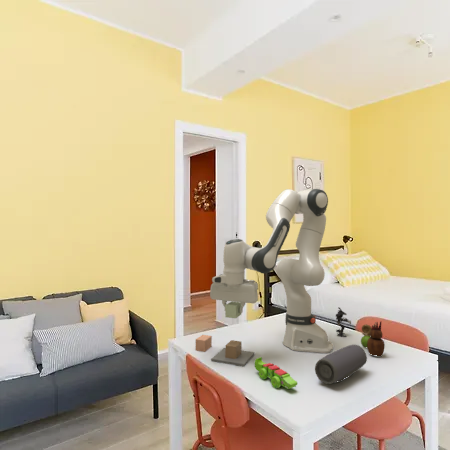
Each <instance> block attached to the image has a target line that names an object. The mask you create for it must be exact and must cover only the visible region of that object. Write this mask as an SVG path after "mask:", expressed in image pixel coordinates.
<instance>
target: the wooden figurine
mask: <svg viewBox="0 0 450 450" xmlns="http://www.w3.org/2000/svg"><path fill="white" fill-rule="evenodd" d="M373 325H374V327H373ZM373 325H372V326H371V328H372V329H371V330H370V338H369V339H368V341H367V351H368V353H370V354H372V355H377V356H381V355H382V356H383V355H384V352H385V347H386V345H385V341H384V340H383V339H382V338H383V331H382V321H380V322H379V324H378V321H376V324H375V323H374V324H373ZM375 325H376V327H375ZM370 354H369V355H370ZM372 355H371V356H372ZM382 356H381V357H382Z"/></svg>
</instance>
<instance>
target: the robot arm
mask: <svg viewBox="0 0 450 450" xmlns="http://www.w3.org/2000/svg"><path fill="white" fill-rule="evenodd" d="M328 205H329V197H328V195H327V192H325V190H323V189H320V188H319V189H318V188H313V189H303V190H300V191H299V190H298V191H296V190H293V189H291V188H289V189H288V188H287V189H284V190H282V191H281V193H279V195H277V196H276V198H275V199H274V200H273V202H272V203H271V205H270V206H269V208H268V209H267V212H266V215H265V220H266V223H267V224H268V225H269V226H270V228H272V232H271V234H270V237H269V238H268V240H267V243H266V244H265V245H264V246H263V247H255V246H252V245H250V244H248V243H247V242H245V241H244V240H243V239H241V238H236V239H235V238H234V239H230V240H228V241H226V242H225V244H224V248H223V265H224V266H223V271H222V272H223V273H222V274H221V273H220V274H218V275H216V276H213V277H211V278H212V279H211V281H212V284H211V285H210V291H209V297H210V299H211V300H214V301H216V300H217V301H221V303H222V305H223V308H225V305H226V304H227V302H241V305H242V306H241V308H238V313H241V314H243V312H244V310H243V309H244V307H245V305H246V304H256V303H257V302H258V300H259V295H258V294H259V292H258V290H259V285H258V284H259V283H257V281H256V280H254V279H245V276H246V275H245V270H247V269H248V270H251V271H254V272H258V273H260V274H265V275H266V274H268V273H271V272H272V271H273V270H274V268H275V267H276V269H275V271H276V275H277V276H278V278H279V279H280V281H281V283H282V285H283V288H284V291H285V295H286V296H285V297H286V313H285V319H284V321H285V333H284V337H283V341H282V344H283V345H284V346H285V347H287V348H289V349H291V351H295V352H305V353H307V352H308V353H318V354H319V353H322V354H330V353H332V352H333V349H334V343H332V342H331V341H329V337H328V333H327V332H326V330H325V329H324V328H322V327H321V326H320V325H318V324H317V321H316V320H317V319H316V317H317V316H316V315H313V314H312V297H311V295H310V293H309V292H308V291H307V289H306V287H314V286H315V287H316V286H319V285H321V284H322V283H323V281H324V280H325V274H326V273H325V269H324V267H323V266H322V264H321V262H320V256H319V255H320V249H321V245H322V241H323V238H324V234H325V231H326V224H327V223H326V222H327V216H326V215H325V213H326V210H327V208H328ZM301 214H302V216H303V217H302V223H301V225H300V227H299V228H300V229H299V232H298V234H297V238H296V241H295V248H296V249H297V250H298V251H299V256H298V259H296V258H286V259H281V260H280V261H278V257H279V254H280V251H281V250H282V248H283V245H284V242H285V241H286V239H287V236H288V235H289V232H290V228H291V221H292V219H293V218H294V216H295V215H301ZM277 261H278V263H277ZM276 264H277V265H276ZM305 286H306V287H305Z"/></svg>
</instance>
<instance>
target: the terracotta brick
mask: <svg viewBox="0 0 450 450" xmlns="http://www.w3.org/2000/svg"><path fill="white" fill-rule="evenodd" d="M212 337H213V336H212V335H207V334H202V335H200V336H199V337H197V338H195V351H198V352H202V353H205V352H207V351H208V350H209V349H210V348H212V346H213V345H212V343H213V342H212V340H213V338H212Z"/></svg>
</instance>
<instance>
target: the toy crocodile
mask: <svg viewBox="0 0 450 450" xmlns="http://www.w3.org/2000/svg"><path fill="white" fill-rule="evenodd" d="M262 359H263V357H262V356H261V357H260V356H259V357H258V358H256V359H254V368H255V370H256V371H257V372H258V377H259V378H260V379H261V380H267V378H269V380H270V383H271V386H272V388H274V389H278V388H280V387H281V386H282V387H284V388H286V389H287V390H289V389H292V388H296V387H297V386H298V381H297V380H295V379H294V378H293V377H292V376H291V375H290V374H291V373H288V372H287V371H285V370H284V369H282V368H280V367H279V366H278V365H276V364H274V363H271V362H269V363H267V362H264V361H263V360H262Z"/></svg>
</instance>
